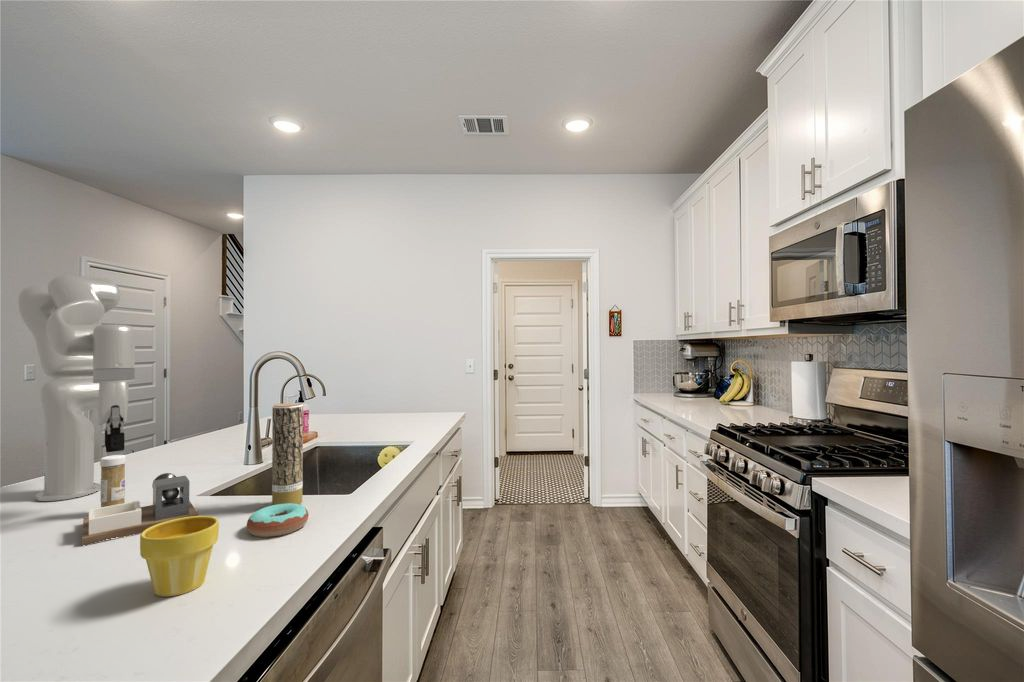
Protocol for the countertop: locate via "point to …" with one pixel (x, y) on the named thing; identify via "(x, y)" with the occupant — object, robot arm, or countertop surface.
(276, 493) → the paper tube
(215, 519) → the plant pot
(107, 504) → the sprinkles bottle
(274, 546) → the countertop surface
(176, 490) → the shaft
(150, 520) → the walnut board
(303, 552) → the countertop surface
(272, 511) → the donut
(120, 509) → the socket
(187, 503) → the bearing block
